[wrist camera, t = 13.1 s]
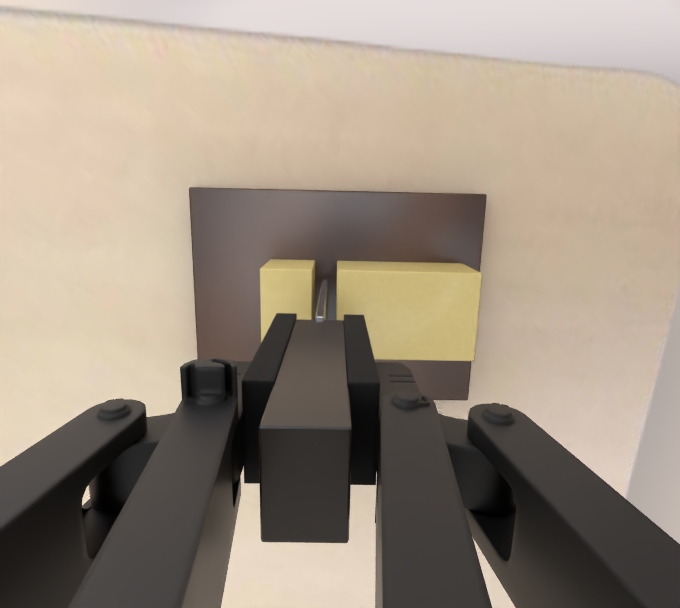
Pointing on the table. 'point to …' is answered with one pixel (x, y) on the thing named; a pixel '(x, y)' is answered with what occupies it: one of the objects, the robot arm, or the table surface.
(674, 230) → the table surface
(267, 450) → the butter knife
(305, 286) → the butter slice
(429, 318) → the butter block
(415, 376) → the butter board
